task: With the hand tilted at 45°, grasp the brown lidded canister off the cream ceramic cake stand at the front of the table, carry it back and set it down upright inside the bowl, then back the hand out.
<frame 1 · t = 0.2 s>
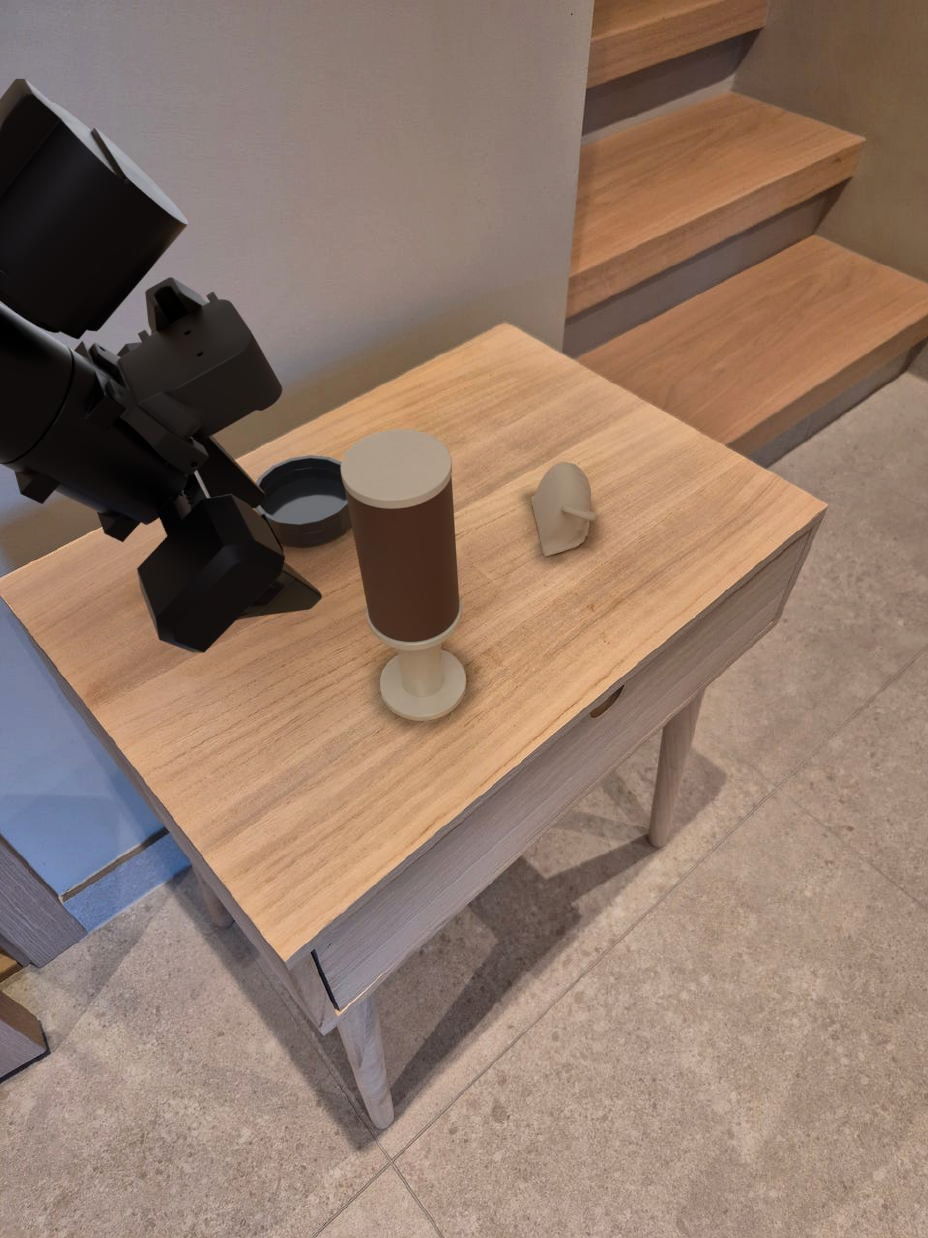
hand: (286, 548, 48), 13 cm above the table, tool tilted 35°, fingers open, 9 cm apart
cake stand: (423, 685, 57), on the table
bowl: (309, 511, 69), on the table
beige curved piece: (560, 531, 66), on the table
brown lidded canister: (413, 607, 51), point 8 cm above the table, touching cake stand
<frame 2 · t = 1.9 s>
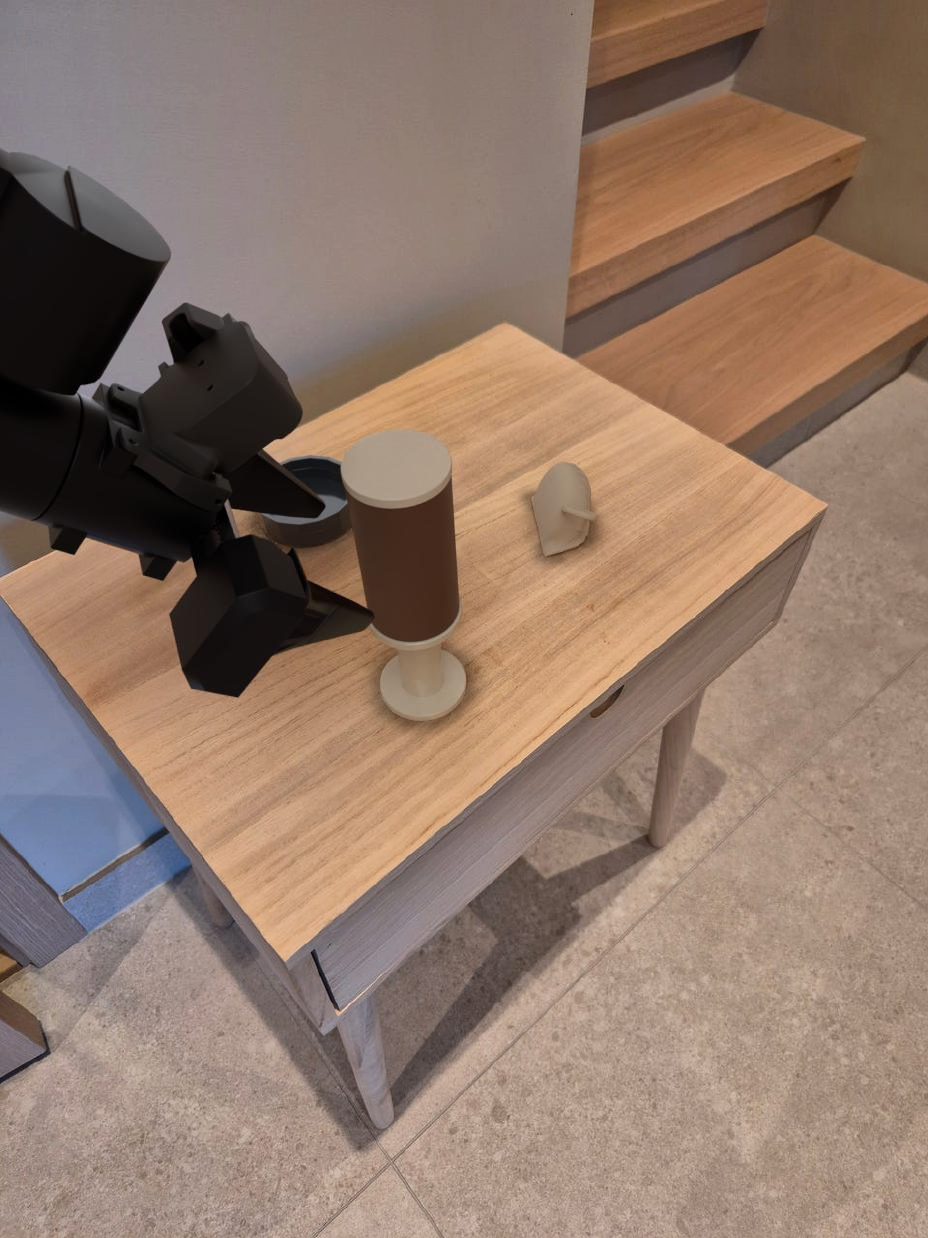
hand: (344, 562, 46), 13 cm above the table, tool tilted 45°, fingers open, 9 cm apart
nothing on the table moved.
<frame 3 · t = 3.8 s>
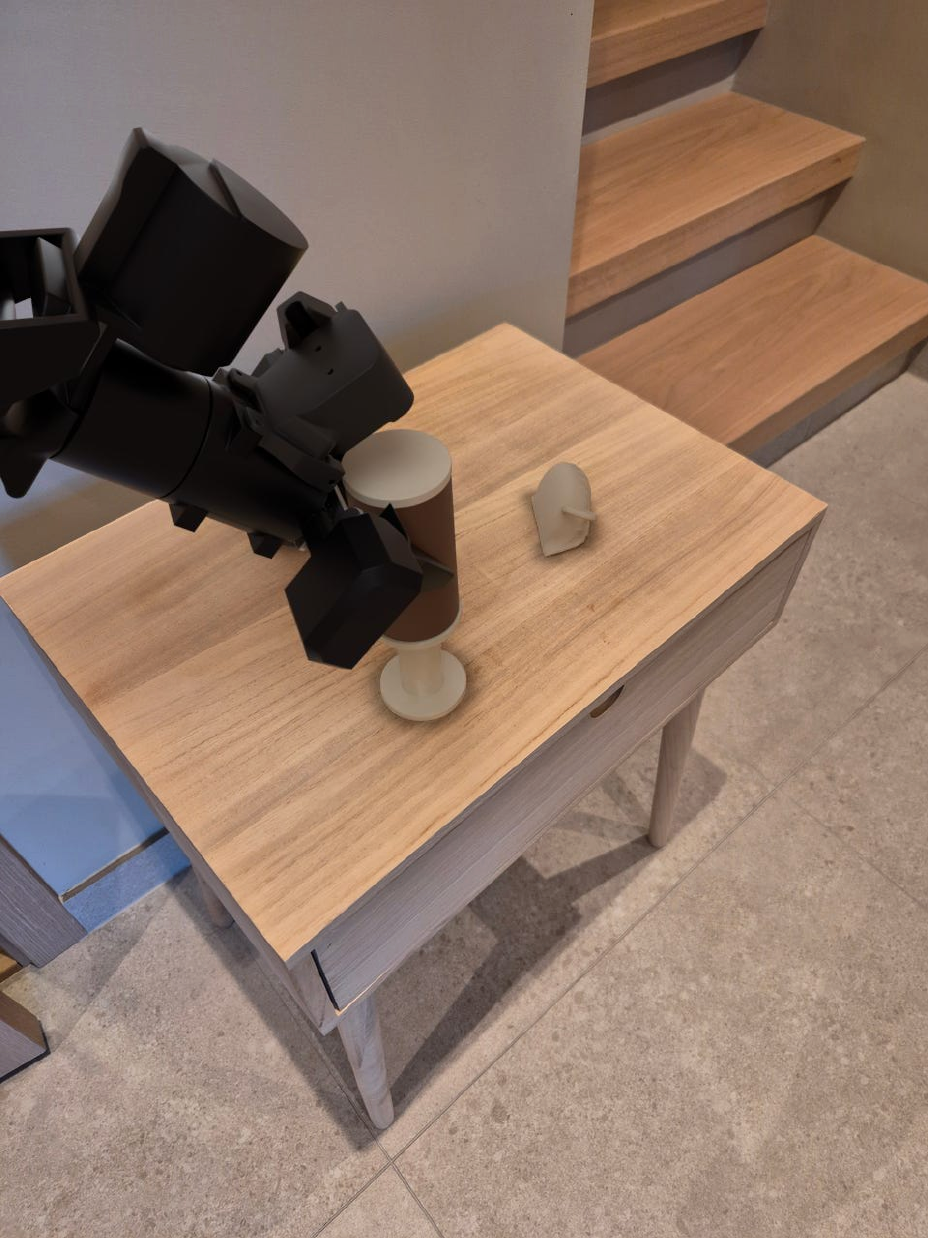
hand: (430, 545, 47), 13 cm above the table, tool tilted 45°, fingers closed on brown lidded canister, 5 cm apart
brown lidded canister: (413, 606, 51), point 8 cm above the table, touching cake stand, gripper
everything else where it was.
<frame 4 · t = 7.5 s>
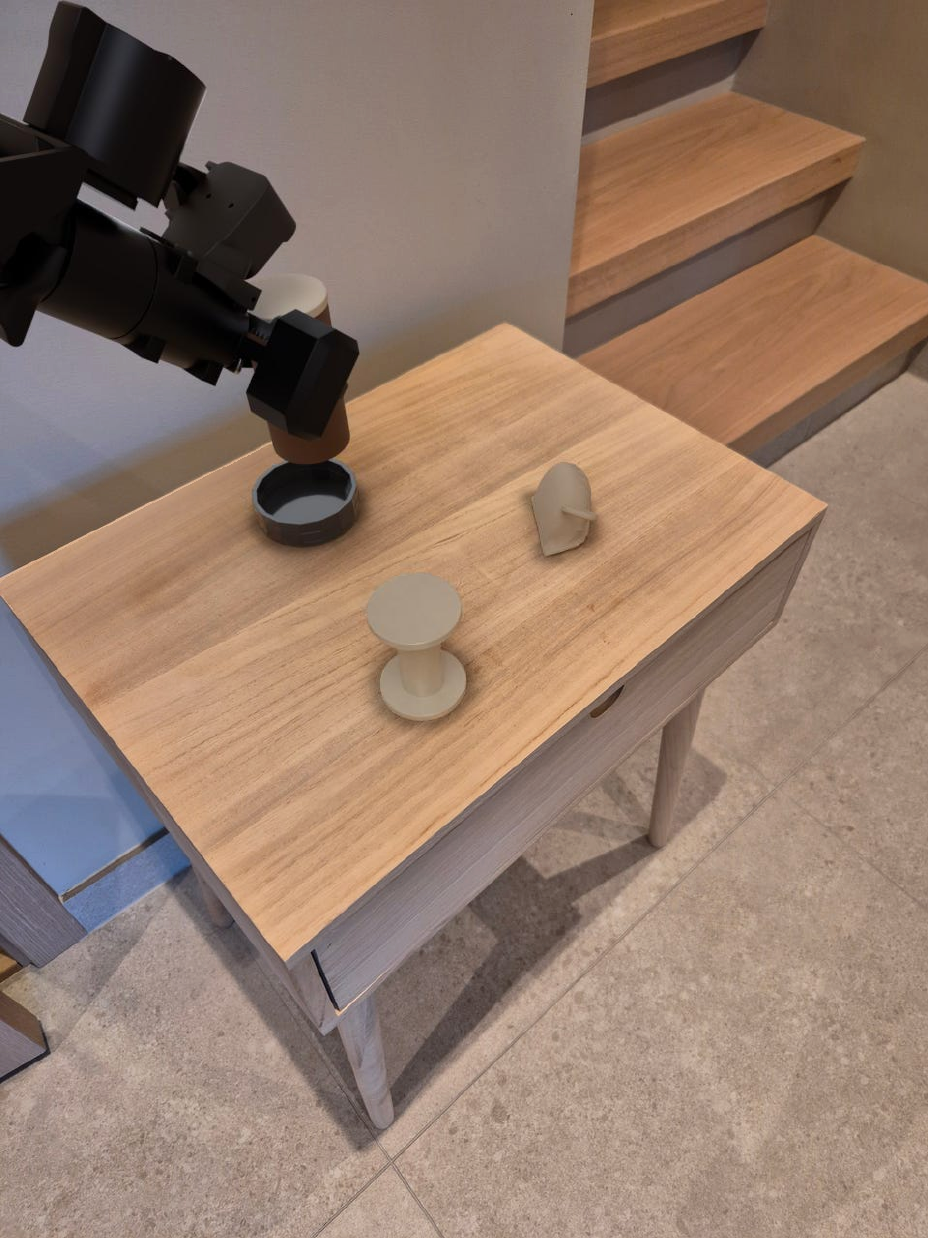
hand: (315, 375, 57), 13 cm above the table, tool tilted 45°, fingers closed on brown lidded canister, 5 cm apart
brown lidded canister: (311, 440, 60), point 9 cm above the table, touching gripper
everything else where it was.
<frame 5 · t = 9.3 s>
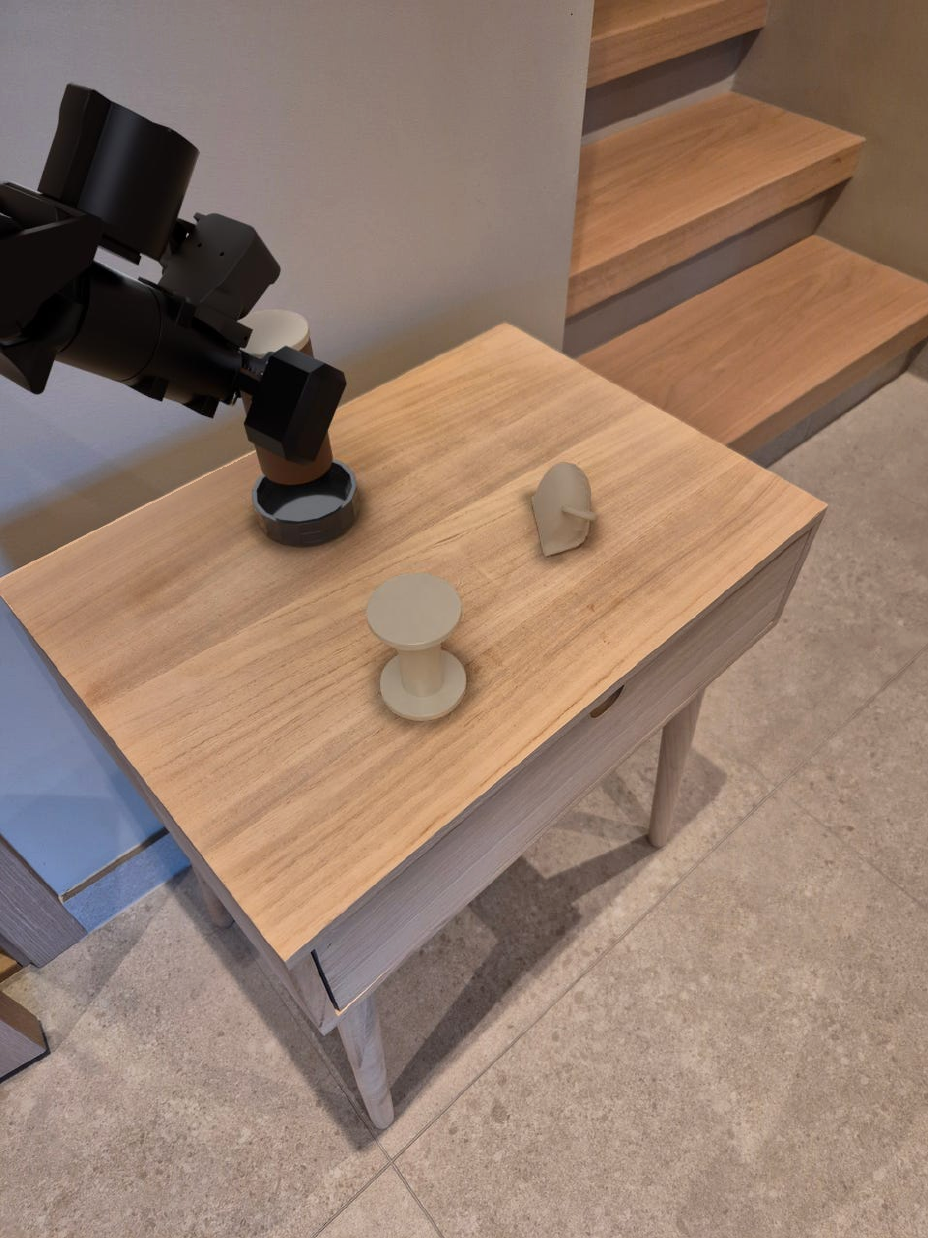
hand: (298, 402, 62), 10 cm above the table, tool tilted 45°, fingers closed on brown lidded canister, 5 cm apart
brown lidded canister: (296, 461, 65), point 5 cm above the table, touching gripper
everything else where it was.
when the fingers open (5 cm above the table, at t = 11.1 s): brown lidded canister stays where it is, resting on bowl.
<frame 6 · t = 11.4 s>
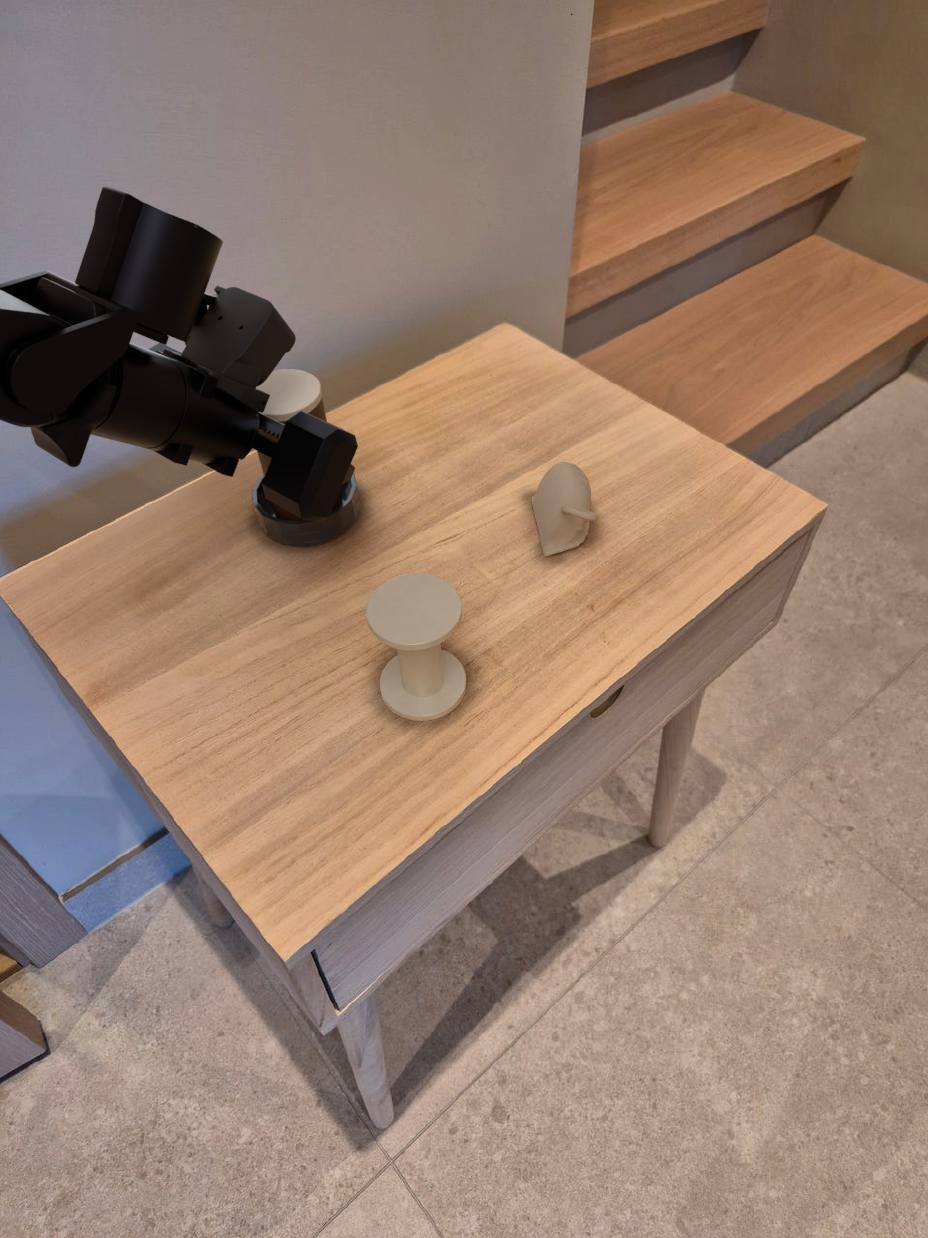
hand: (311, 452, 65), 5 cm above the table, tool tilted 45°, fingers open, 8 cm apart
brown lidded canister: (308, 507, 68), point 1 cm above the table, touching bowl
everything else where it was.
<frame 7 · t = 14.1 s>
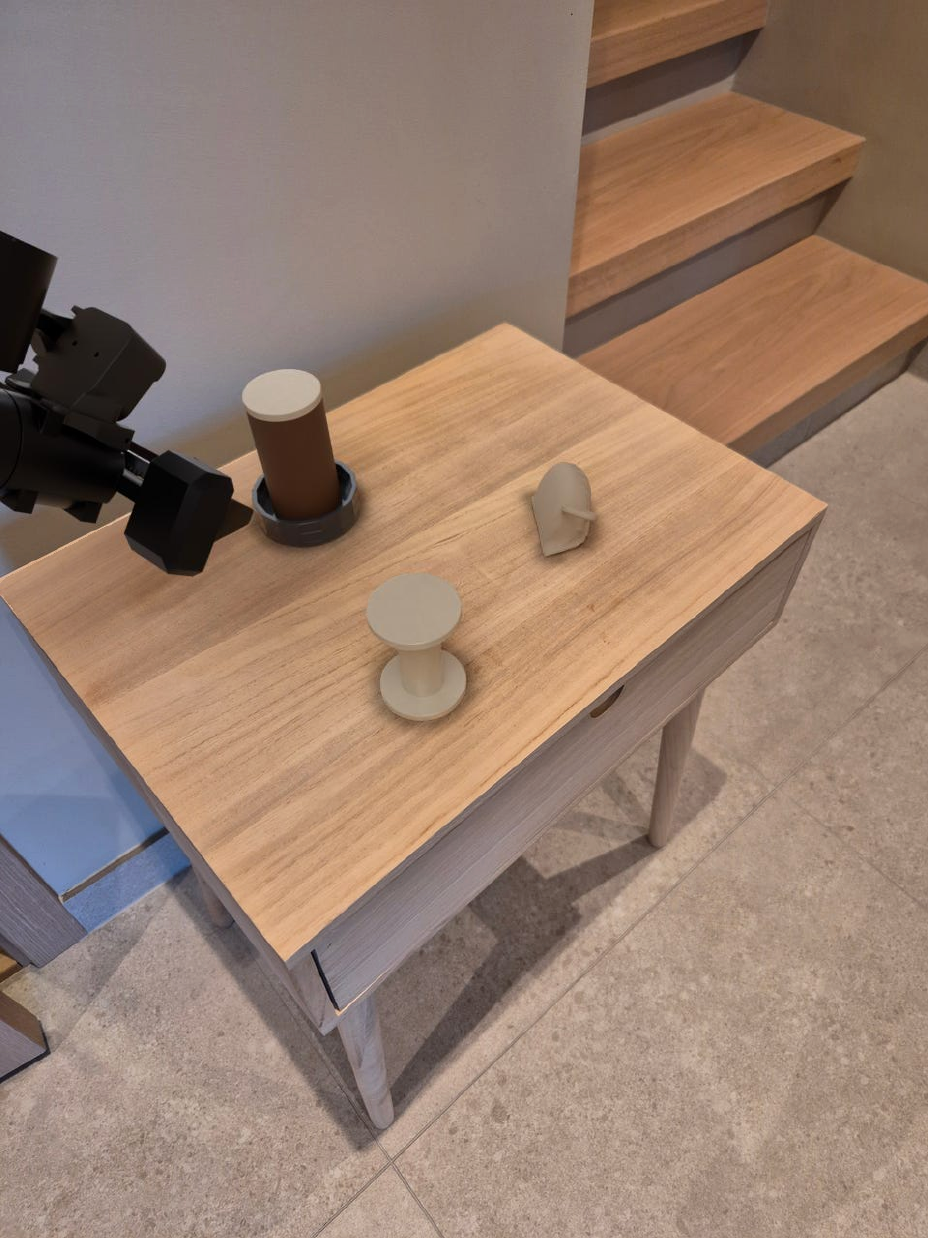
hand: (204, 489, 58), 8 cm above the table, tool tilted 45°, fingers open, 9 cm apart
nothing on the table moved.
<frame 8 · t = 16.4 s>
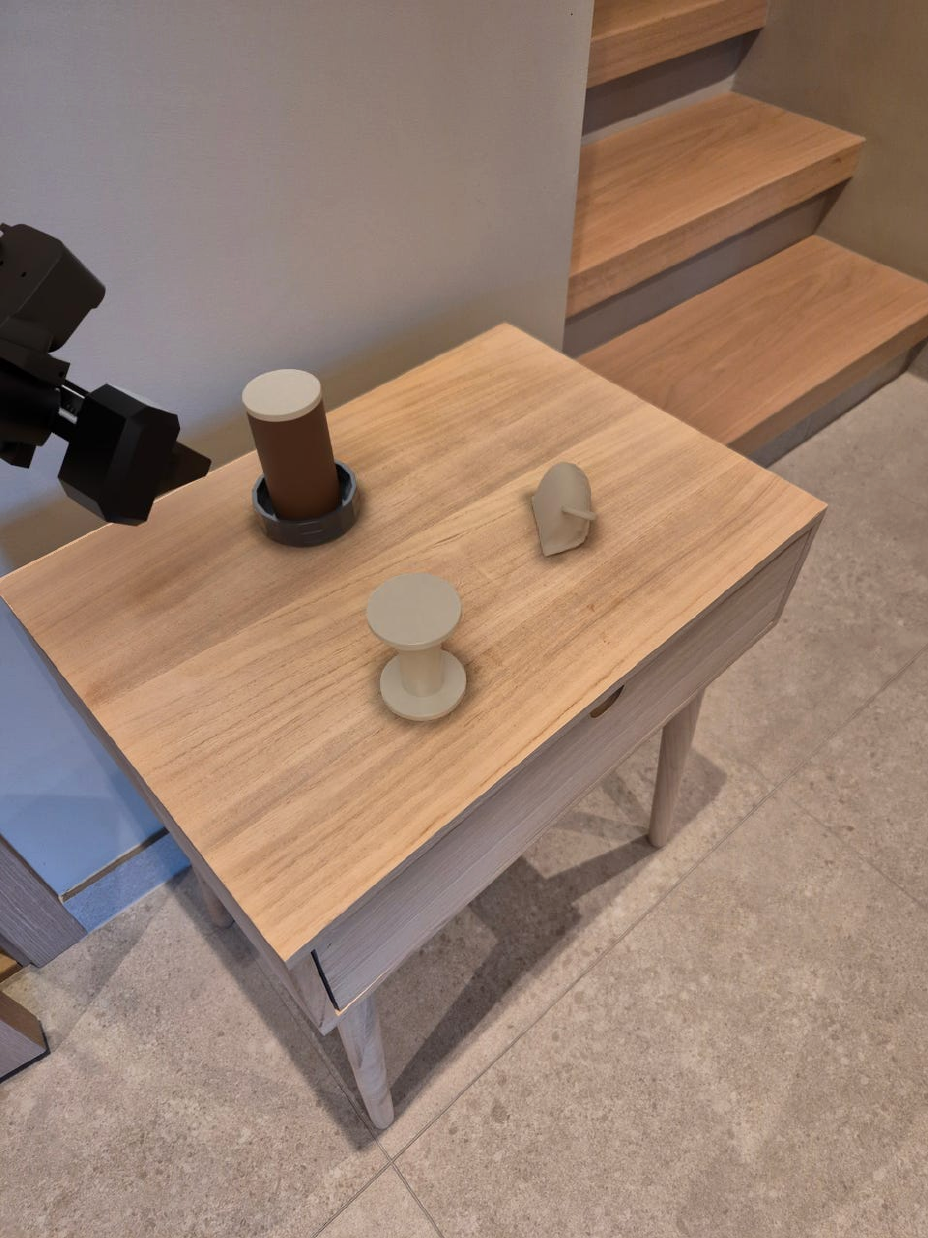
hand: (159, 440, 53), 14 cm above the table, tool tilted 45°, fingers open, 9 cm apart
nothing on the table moved.
at the end: brown lidded canister 0.0 cm off-centre in the bowl, point 0.5 cm above the bowl's base; brown lidded canister tilted 0°; the gripper is holding nothing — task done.
